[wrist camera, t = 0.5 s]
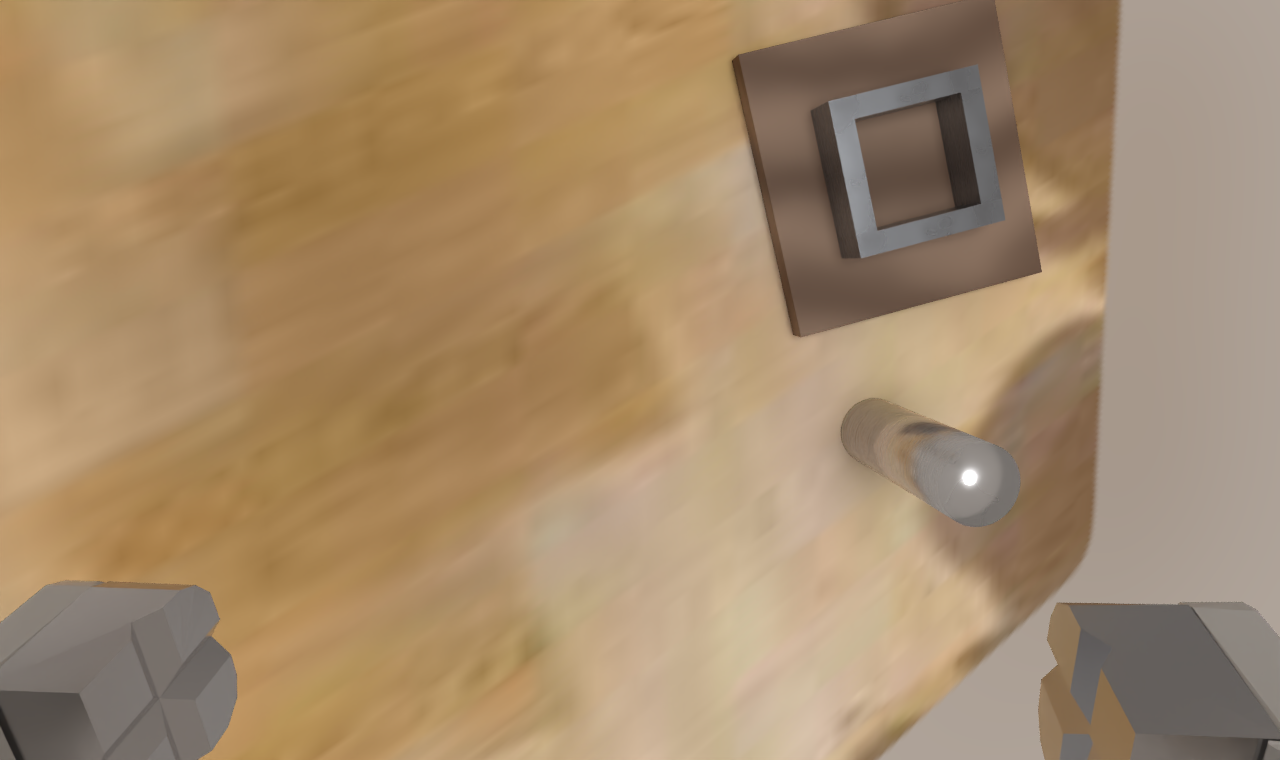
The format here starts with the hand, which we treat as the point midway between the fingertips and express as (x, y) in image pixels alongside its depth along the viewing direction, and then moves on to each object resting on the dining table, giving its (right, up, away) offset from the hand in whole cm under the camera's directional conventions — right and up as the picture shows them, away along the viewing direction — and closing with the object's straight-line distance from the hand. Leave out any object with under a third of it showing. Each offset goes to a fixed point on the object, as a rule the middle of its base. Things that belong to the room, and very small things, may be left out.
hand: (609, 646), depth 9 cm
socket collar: (+15, +15, +42) cm, 46 cm away
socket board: (+15, +15, +43) cm, 48 cm away
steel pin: (+14, -1, +45) cm, 47 cm away
